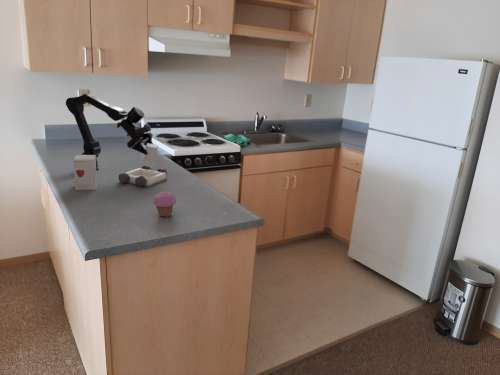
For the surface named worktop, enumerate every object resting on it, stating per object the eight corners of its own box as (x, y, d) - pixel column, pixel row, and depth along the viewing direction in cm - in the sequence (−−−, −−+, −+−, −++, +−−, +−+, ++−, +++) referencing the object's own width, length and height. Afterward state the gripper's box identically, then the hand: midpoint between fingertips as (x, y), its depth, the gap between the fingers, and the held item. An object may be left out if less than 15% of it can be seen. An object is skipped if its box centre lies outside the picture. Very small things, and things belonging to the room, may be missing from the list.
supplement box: (75, 190, 185) (72, 159, 181) (77, 184, 193) (75, 154, 189) (96, 190, 188) (94, 159, 183) (97, 184, 196) (95, 154, 191)
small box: (153, 167, 207) (156, 148, 204) (142, 165, 206) (145, 145, 203) (154, 163, 215) (157, 144, 212) (144, 161, 214) (147, 142, 211)
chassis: (145, 188, 195) (145, 178, 193) (117, 182, 201) (116, 172, 199) (168, 178, 212) (168, 169, 211) (142, 173, 218) (142, 164, 217)
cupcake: (177, 212, 167) (177, 189, 164) (174, 220, 159) (174, 196, 156) (155, 211, 167) (155, 188, 164) (151, 219, 159) (151, 195, 156)
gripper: (132, 121, 196) (153, 146, 197) (149, 117, 213) (168, 139, 214) (117, 135, 199) (138, 160, 201) (135, 130, 217) (154, 152, 218)
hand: (151, 152), depth 208 cm, fingers closed on small box, 9 cm apart
